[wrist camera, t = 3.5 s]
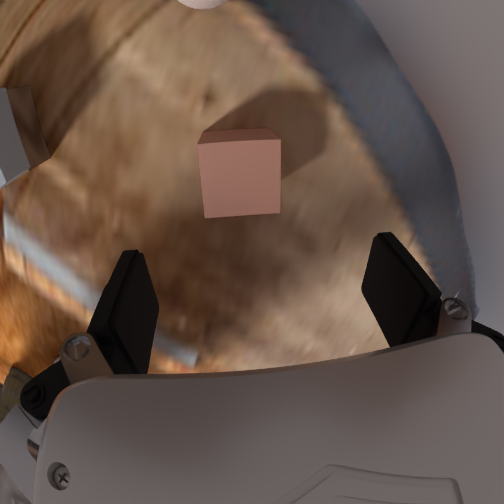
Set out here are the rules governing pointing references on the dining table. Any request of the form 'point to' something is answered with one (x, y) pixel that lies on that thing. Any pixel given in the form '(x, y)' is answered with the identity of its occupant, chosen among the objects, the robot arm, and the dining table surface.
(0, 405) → the thermos
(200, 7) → the egg
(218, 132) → the rust cube
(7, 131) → the slate block
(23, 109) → the walnut block
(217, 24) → the dining table surface
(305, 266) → the dining table surface
